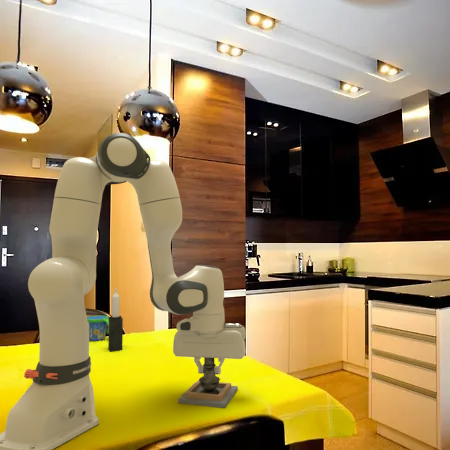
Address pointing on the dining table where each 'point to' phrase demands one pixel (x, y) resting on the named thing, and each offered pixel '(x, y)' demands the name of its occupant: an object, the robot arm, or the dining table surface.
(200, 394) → the base plate
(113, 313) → the candle
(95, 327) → the snack cup
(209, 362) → the salt shaker
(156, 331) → the dining table surface
